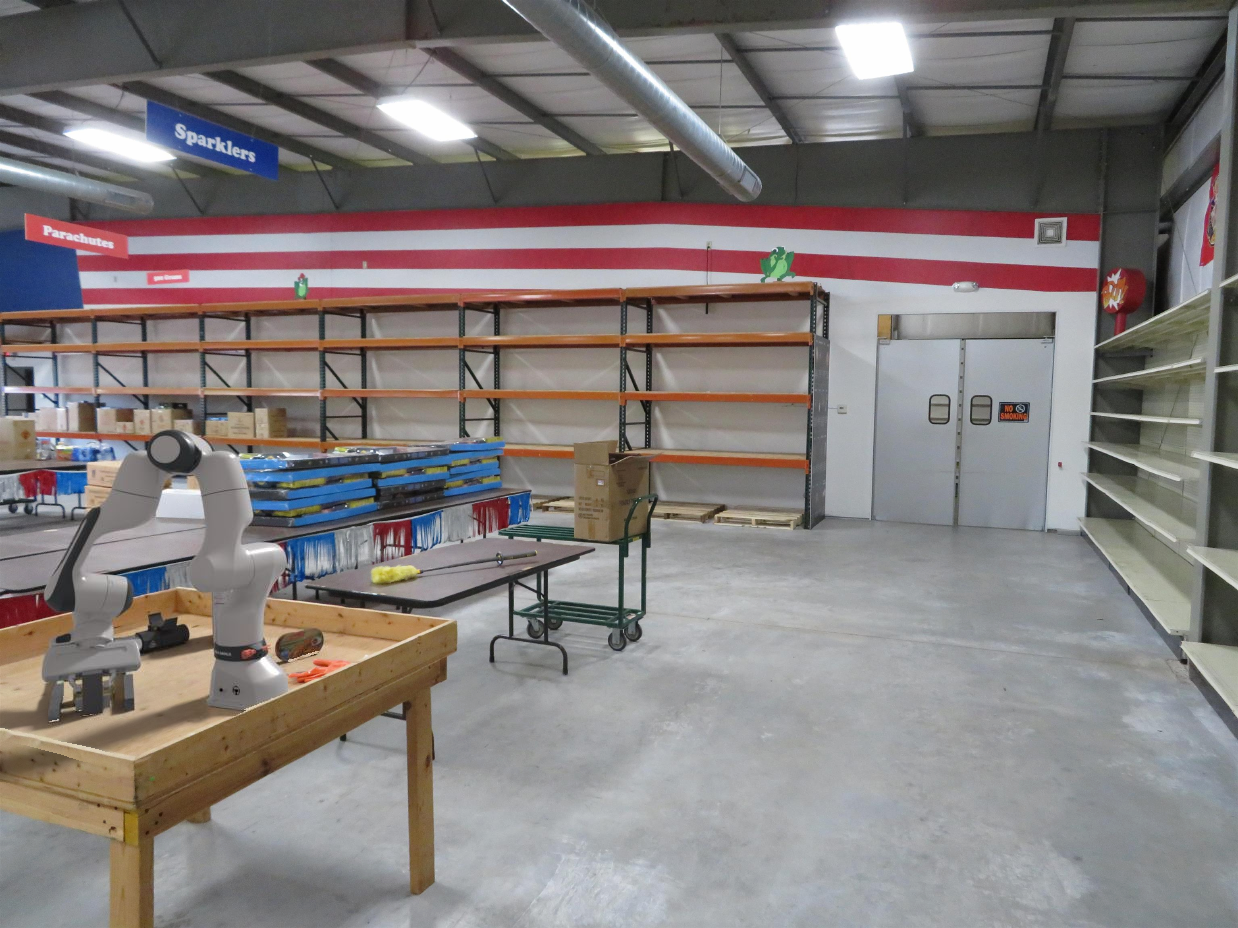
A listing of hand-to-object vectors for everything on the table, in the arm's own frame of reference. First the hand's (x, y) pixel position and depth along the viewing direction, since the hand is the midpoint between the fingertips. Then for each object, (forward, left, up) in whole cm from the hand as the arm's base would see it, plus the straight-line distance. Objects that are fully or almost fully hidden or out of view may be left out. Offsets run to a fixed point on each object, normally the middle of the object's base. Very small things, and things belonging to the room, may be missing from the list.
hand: (92, 690), depth 190 cm
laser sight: (+35, -37, -6) cm, 52 cm away
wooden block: (+10, -3, -5) cm, 12 cm away
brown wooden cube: (+7, -7, -5) cm, 12 cm away
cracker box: (+27, -56, -6) cm, 62 cm away
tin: (-8, -55, -6) cm, 56 cm away
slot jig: (+6, -4, -5) cm, 9 cm away
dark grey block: (+1, 0, -5) cm, 5 cm away
